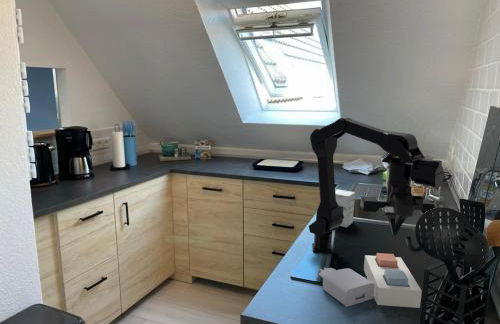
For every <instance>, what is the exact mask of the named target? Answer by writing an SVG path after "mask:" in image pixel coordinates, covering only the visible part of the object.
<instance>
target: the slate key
mask: <svg viewBox="0 0 500 324" xmlns="http://www.w3.org/2000/svg"><path fill="white" fill-rule="evenodd" d="M384 280H385V282H386V284H387V285H389V286H403V287H408V278H407V276H406V275H405V273H404V271H401V270H386V269H385V270H384Z"/></svg>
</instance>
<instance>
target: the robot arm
mask: <svg viewBox="0 0 500 324" xmlns="http://www.w3.org/2000/svg"><path fill="white" fill-rule="evenodd" d="M346 134H348V135H351V136H353V137H356V138H359V139H362V140H365V141H367V142H370V143H373V144H375V145H377V146H379V147H380V149H382V150H383V151H384V152H386V153H388V154H387V155H386V157H383V159H381V162H382V163H386V164H388V165H389V166H388V176H387V177H388V178H387V181H386V185H387V186H386V187H387V189H386V195H385V200H378V198H377V197H376V196H362V197H361V198H360V204H359V205H360V207H361V209H362V211H363V212H366V213H367V212H368V213H376V212H378V211H379V210H381V212H382V213H383V215H384V216H386V217H387V221H388V223H389V228H390V230H391V233H392V236H398V233H399V231H400V229H401V227H402V226H403V224H404V222H405V221H406V220H407V219H408V218H410V217H413V216H414V214H415V211H420V212H421V213H422V214H423V215H424V213H425V212H426V211H428V210H430V209H433V208H436V209H437V206H436V205H435V203H434V202H432V201H431V200H430V199H426V198H425V199H424V197H423V196H421V195H413V194H412V186H411V183H412V182H413V183H414V184H415V185H416V184H417V185H421V186H426V187H431V188H437V189H439V188H440V187H442V184H443V181H444V179H445V172H444V167H443V165H442V163H443V162H442V160H438V159H427V158H426V157H425V155H424V154H423V152H422V150H421V149H420V147H419V145H418V140H417V138H416V136H415V135H414V134H411V133H407V132H401V131H390V130H384V129H381V128H378V127H375V126H372V125H369V124H365V123H364V122H360V121H357V120H354V119H352V118H351V117H340V118H338V119H336V120H335V121H333V122H331V123H329V124H327V125H325V126H323V127H321V128H316V129H314V130H313V131H312V132H311V133H310V137H309V140H310V144H311V150H312V152H314V155H315V156H316V159H317V160H316V161H317V171H318V173H317V174H318V175H317V176H318V187H319V188H318V189H319V204H318V206H317V209H316V212H315V213H316V215H315V217H316V218H315V221H313V222H312V223H311V224H310V225H308V230H309V233H311V234H313V235H314V237H313V243H312V244H311V246H312V247H311V248H312V252H313V253H321V254H334V248H333V245H332V243H333V232H335V231H338V228H339V227H341V226H340V225H341V224H342V222H343V219H344V215H343V206H339V205H338V204H337V202H336V194H335V191H336V183H335V182H336V181H335V167H334V166H335V165H334V164H335V163H334V154H335V151H336V150H337V148H338V139H340V138H342V137H343V136H344V135H346Z"/></svg>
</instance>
